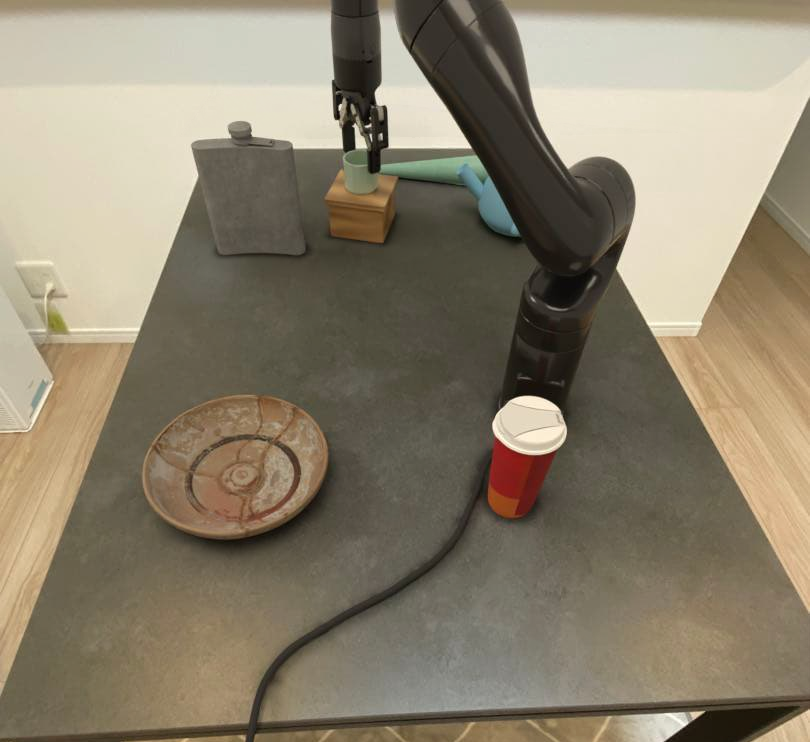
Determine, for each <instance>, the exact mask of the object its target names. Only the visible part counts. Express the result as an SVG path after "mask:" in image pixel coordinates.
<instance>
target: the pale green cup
mask: <svg viewBox="0 0 810 742" xmlns="http://www.w3.org/2000/svg"><path fill="white" fill-rule="evenodd" d="M342 169H343V171H344V185H345V188H346V189H347V190H348V191H349V192H351V193H353V194H356V195H367V194H370V193H372V192H374V191H375V189H376V188H377V186H378V173H375V174H370V173H369V172H368V165H367V149H356V150H352V151H349V152H347V153H344V154H343V156H342Z"/></svg>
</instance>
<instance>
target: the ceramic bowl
mask: <svg viewBox="0 0 810 742" xmlns="http://www.w3.org/2000/svg"><path fill="white" fill-rule="evenodd" d="M144 457H145V458H144V460H143V465H142V471H141V472H142V473H141V481H142V482H141V483H142V488H143V491H144V494H145V497H146V500H147V502H148V504H149V505H150V507H151V508H152V509H153V511H154V512H155V513H156V514H157V515H158V516H159V517H160V518H161V519H162V520H163V521H164V522H166V523H167V524H168V525H170V526H171V527H173V528H175V529H177V530H179V531H182V532H184V533H187V534H188V535H189V534H190V535H193V536H196V537H200V538H204V539H205V538H206V539H210V540H211V539H213V540H238V539H245V538H249V537H250V538H251V537H253V536H257V535H261V534H263V533H267V532H269V531H272V530H274V529H277V528H278V527H280V526H282V525H284V524H286V523H288V522H289V521H290V520H292V519H293V518H294V517H296V516H297V515H299V514H300V513H301V512H302V511H303V510H304V509H306V507H307V506H309V504H310V503H311V502H312V501H313V499H314V498H315V497H316V496H317V494H318V493H319V491H320V489H321V487H322V485H323V484H324V481H325V479H326V475H327V472H328V467H329V447H328V443H327V440H326V437H325V434H324V432H323V430H322V429H321V427H320V426H319V424H318V423H317V421H316V420H315V419H314V418H313V417H312V416H311V415H310V414H308V412H306V411H305V410H304V409H302V408H300V406H297V405H296V404H294V403H291V402H289V401H287V400H284V399H281V398H278V397H274V396H270V395H263V394H237V395H230V396H224V397H219V398H215V399H212V400H209V401H206V402H203V403H201V404H199V405H197V406H194V407H192V408H190V409H188V410H186V411H185V412H182V413H181V414H179V415H178V416H177V417H176V418H174V419H172V421H170V422H169V423H168V424H167V425H166V426H165V427H164V428H163V429H162V430H161V431H160V432H159V433H158V434H157V436H156V437H155V439H154V440H153V441H152V443H151V445H150V447H149V449H148V451H147V453H146V454H145V456H144Z"/></svg>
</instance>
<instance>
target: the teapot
mask: <svg viewBox="0 0 810 742" xmlns="http://www.w3.org/2000/svg"><path fill="white" fill-rule="evenodd" d="M456 174H457V175H458V176H459V178H460V179H461V180H462V181H463V183H464V184H465V185H466V186H465V187H466V188H467V189H468V190H469V192H470V193H471V194H472V195H473V196H474V198H475V199H476V201H478V203H477V208H478V213H479V215H480V216H481V218H482V220H483V221H484V222H485V224H486V225H487V226H488V228H490V229H491V230H493V231H494V232H495V233H497V234H498V233H499V234H501V235H503V236H508V237H513V238H514V237H515V238H521V236H520V234H519V232H518V230H517V228H516V226H515V224H514V222H513V220H512V218H511V217H510V215H509V213H508V211H507V209H506V207H505V205H504V203H503V201H502V199H501V197H500V195H499V193H498V192H497V190H496V188H495V186H494V184H493V182H492V180H491V179H490V177H489V176H488V178H487V179H486V181H485V183H484V185H483V184H482V183H481V182H480V180H479V179H478V177H477V176H476V175H475V173H474V172H473V171H472V169H471V168H470V167H469V165H468V164H467V163H465V164H463V165H462V166H461V167H460V168H459V169H458V171H457V173H456Z"/></svg>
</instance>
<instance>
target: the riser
mask: <svg viewBox="0 0 810 742" xmlns="http://www.w3.org/2000/svg"><path fill="white" fill-rule="evenodd" d="M398 183H399V178H398V177H397V176H389V175H381V174H378V186H377V188H376V189H375V191H374V192H372V193H370V194H367V195H356V194H353V193H351V192H349V191H348V190H347V189H346V188H345V185H344V171H343V168H341V169H340V171H339V172H338V174H337V175H336V177H335V179H334V181H333V183H332V184H331V186H330V188H329V190H328V191H327V194H326V195H325V197H324V200H323V201H324V205H328V215H329V228H330V237H335V238H342V239H348V240H356V241H363V242H369V243H377V244H384V242H385V240H386V237H387V234H388V232H389V230H390V228H391V226H392V223H393V221H394V218H395V216H396V187H397V185H398Z"/></svg>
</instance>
